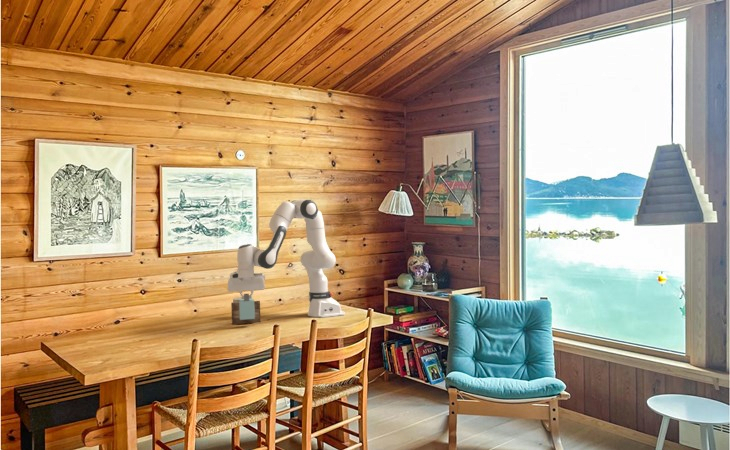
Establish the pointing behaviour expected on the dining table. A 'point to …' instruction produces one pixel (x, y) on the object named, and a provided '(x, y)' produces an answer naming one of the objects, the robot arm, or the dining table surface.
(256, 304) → the wall board
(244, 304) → the blue square bottle
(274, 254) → the robot arm
